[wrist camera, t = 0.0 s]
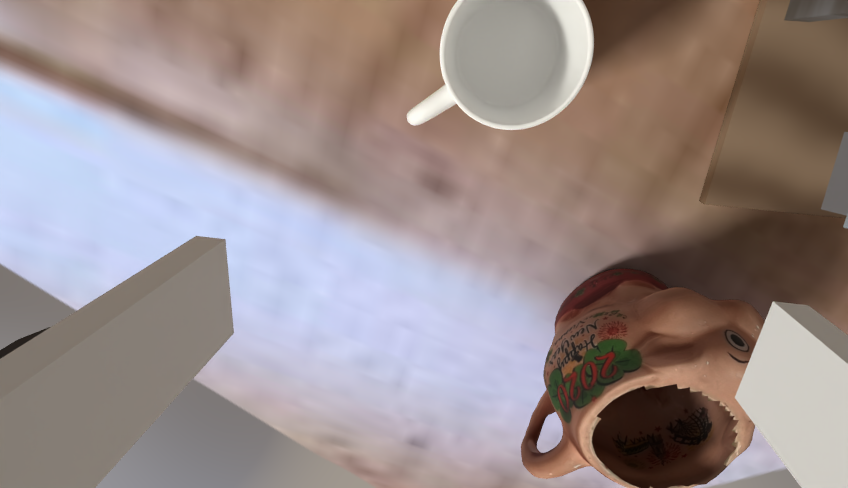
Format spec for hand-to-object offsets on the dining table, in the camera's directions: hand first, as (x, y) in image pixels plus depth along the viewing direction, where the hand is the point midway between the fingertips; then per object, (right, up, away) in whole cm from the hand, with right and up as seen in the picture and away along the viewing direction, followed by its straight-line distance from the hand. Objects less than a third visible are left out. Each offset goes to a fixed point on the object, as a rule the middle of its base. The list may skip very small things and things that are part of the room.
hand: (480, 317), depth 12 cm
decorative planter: (+15, -6, +31) cm, 35 cm away
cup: (+3, +15, +24) cm, 29 cm away
